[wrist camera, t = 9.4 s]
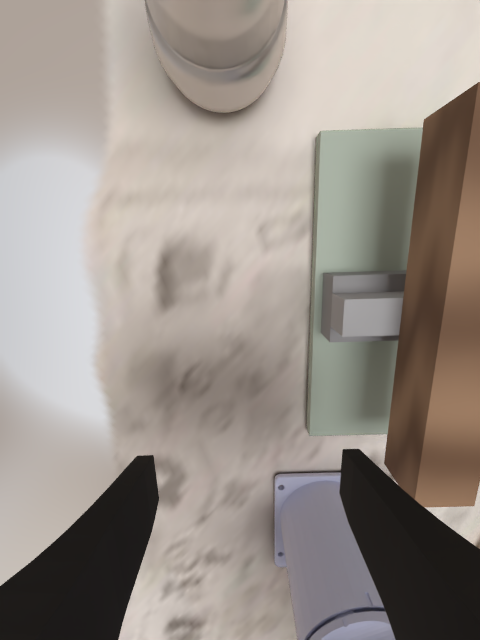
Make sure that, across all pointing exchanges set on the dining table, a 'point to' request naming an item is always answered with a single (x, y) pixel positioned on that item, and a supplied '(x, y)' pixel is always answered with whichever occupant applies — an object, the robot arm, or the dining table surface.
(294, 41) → the dining table surface
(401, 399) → the walnut beam
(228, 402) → the dining table surface
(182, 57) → the plastic bottle
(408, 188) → the balance stand
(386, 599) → the robot arm
